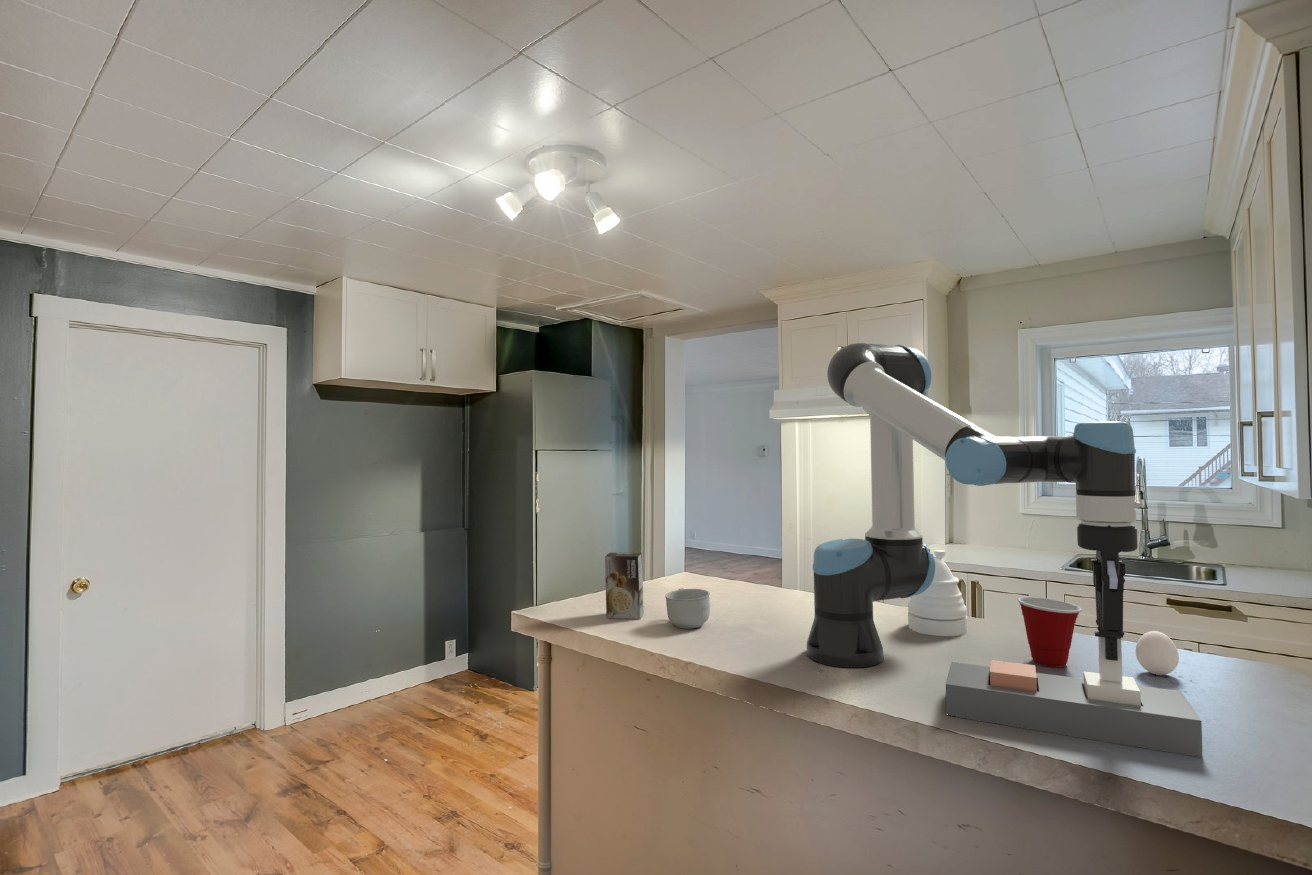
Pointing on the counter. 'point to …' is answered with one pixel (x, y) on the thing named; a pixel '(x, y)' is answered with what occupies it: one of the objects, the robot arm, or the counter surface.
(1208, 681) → the counter surface
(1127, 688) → the offwhite key
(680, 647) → the counter surface
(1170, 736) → the key console
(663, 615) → the counter surface
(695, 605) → the teacup
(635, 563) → the coffee box
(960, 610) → the honey pot
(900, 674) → the counter surface
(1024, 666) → the terracotta key
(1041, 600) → the plastic cup
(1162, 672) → the egg
